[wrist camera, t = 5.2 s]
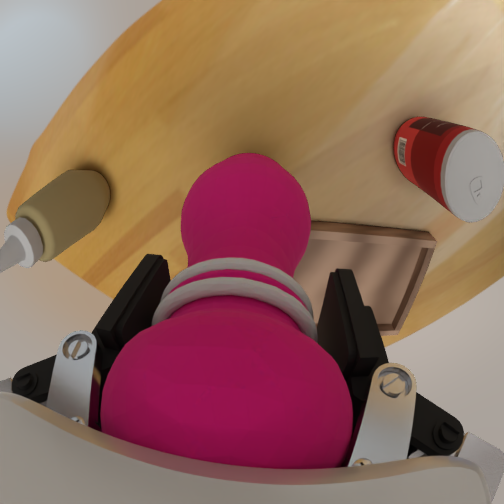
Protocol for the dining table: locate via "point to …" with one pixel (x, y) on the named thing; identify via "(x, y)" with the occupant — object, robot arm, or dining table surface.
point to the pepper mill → (235, 337)
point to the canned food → (451, 165)
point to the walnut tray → (368, 267)
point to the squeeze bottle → (55, 218)
